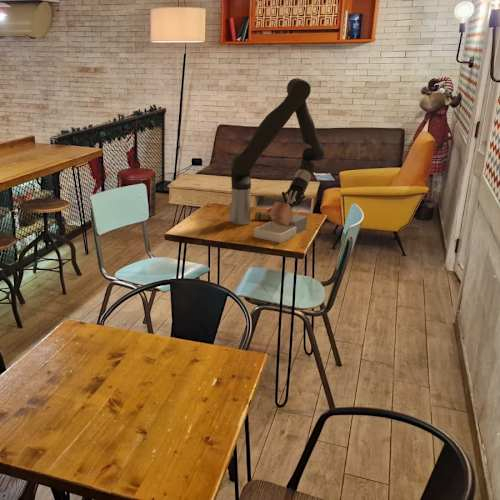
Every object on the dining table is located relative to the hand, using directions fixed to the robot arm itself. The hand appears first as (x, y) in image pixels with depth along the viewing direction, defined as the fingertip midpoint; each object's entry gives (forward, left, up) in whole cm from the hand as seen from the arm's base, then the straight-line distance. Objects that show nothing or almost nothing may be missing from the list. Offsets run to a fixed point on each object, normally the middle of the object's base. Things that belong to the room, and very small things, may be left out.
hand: (286, 211), depth 220 cm
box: (0, -10, -9) cm, 14 cm away
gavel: (-20, +17, -10) cm, 28 cm away
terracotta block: (0, -3, -3) cm, 4 cm away
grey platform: (0, +3, -9) cm, 10 cm away
